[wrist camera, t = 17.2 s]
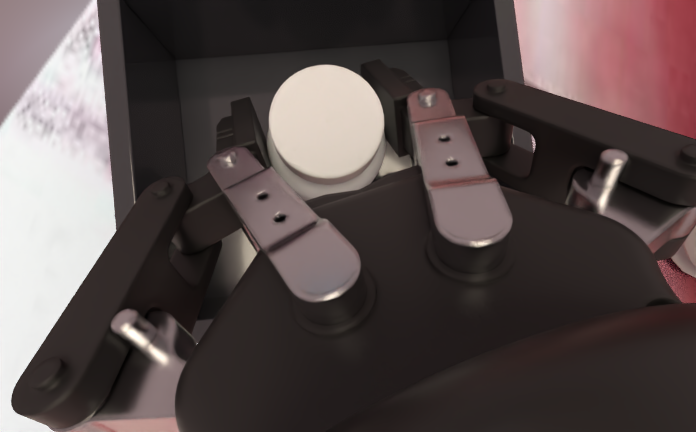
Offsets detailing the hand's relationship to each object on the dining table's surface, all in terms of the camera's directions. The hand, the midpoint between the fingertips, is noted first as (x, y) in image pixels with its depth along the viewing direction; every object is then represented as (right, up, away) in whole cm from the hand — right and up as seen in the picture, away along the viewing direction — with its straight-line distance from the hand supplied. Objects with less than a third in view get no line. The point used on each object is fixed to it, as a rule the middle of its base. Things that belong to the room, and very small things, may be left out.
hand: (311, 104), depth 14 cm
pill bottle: (0, -2, +4) cm, 5 cm away
